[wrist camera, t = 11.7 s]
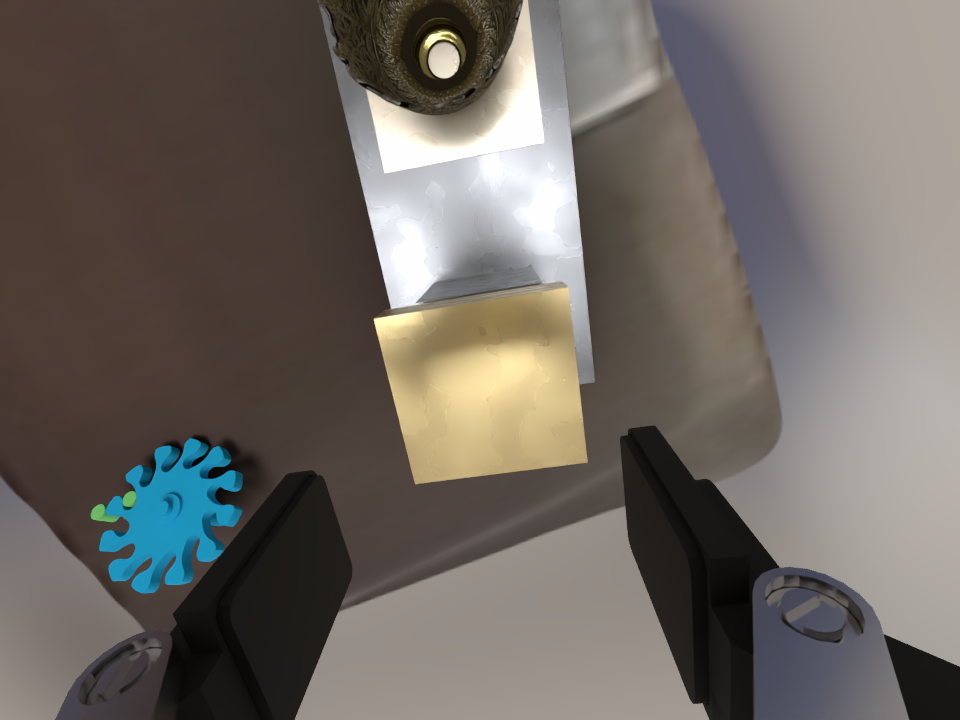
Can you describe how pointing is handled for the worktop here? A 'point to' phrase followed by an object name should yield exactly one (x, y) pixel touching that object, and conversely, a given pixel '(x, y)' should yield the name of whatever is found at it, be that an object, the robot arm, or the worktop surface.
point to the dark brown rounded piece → (422, 47)
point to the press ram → (485, 382)
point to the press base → (476, 180)
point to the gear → (170, 515)
